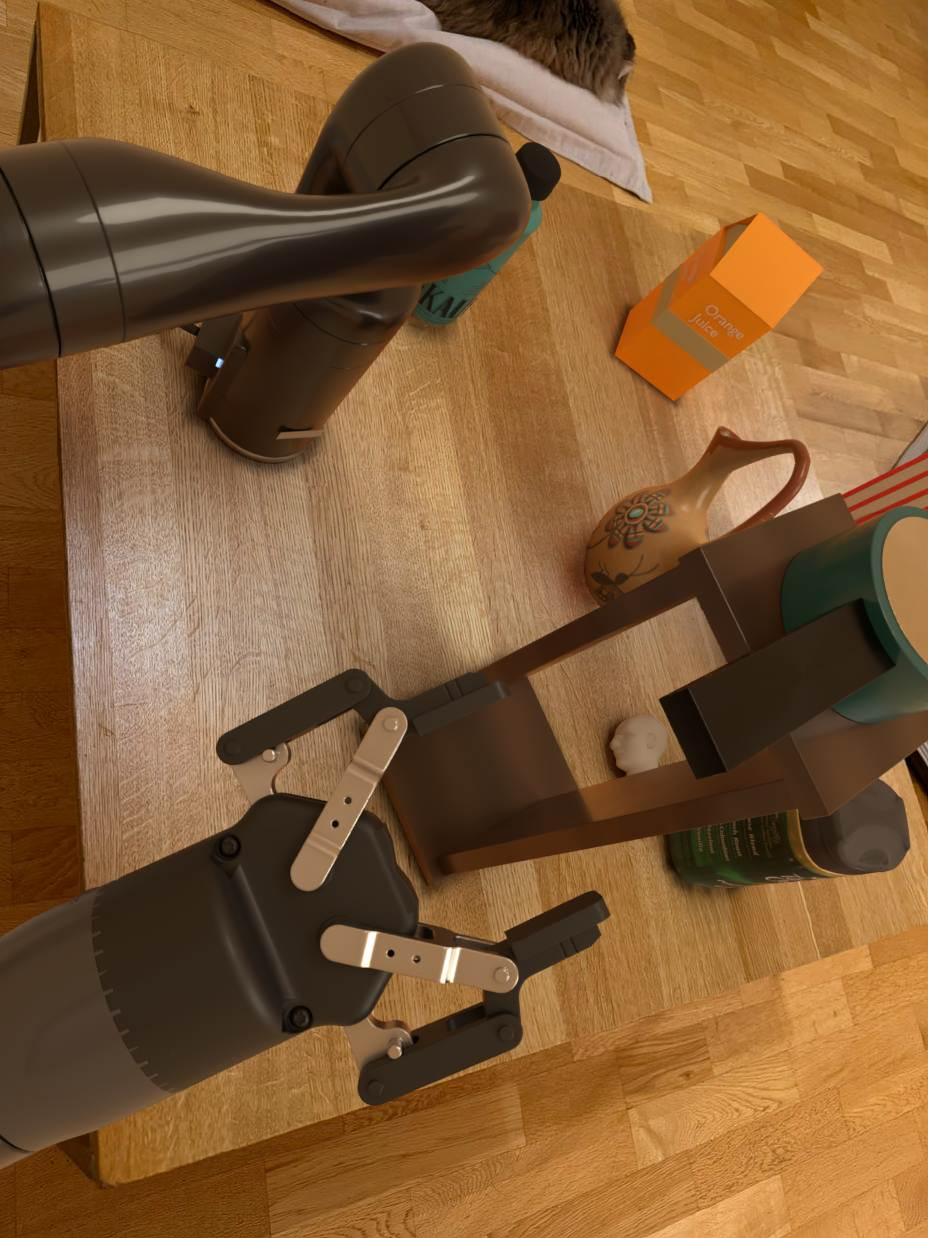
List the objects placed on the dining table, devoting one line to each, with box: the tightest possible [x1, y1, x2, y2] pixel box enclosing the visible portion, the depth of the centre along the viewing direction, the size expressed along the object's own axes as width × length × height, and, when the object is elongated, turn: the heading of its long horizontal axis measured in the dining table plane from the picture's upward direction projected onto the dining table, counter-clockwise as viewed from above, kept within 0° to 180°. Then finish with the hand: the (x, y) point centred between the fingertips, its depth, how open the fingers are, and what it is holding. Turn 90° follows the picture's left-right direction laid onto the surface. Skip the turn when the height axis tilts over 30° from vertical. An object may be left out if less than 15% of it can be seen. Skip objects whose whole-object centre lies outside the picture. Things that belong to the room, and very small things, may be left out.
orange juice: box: [614, 211, 825, 402], centre depth 96 cm, size 8×9×20 cm
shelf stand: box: [359, 492, 928, 887], centre depth 61 cm, size 16×13×37 cm
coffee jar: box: [668, 777, 911, 889], centre depth 78 cm, size 10×8×19 cm
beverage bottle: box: [412, 141, 562, 327], centre depth 81 cm, size 6×7×20 cm
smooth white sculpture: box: [609, 714, 669, 776], centre depth 83 cm, size 4×8×5 cm
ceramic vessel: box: [583, 425, 812, 607], centre depth 80 cm, size 16×9×25 cm, turn 167°
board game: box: [841, 451, 928, 525], centre depth 86 cm, size 20×6×27 cm, turn 5°
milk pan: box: [658, 506, 928, 780], centre depth 40 cm, size 20×9×5 cm, turn 118°
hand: (553, 792), depth 34 cm, fingers open, 8 cm apart
